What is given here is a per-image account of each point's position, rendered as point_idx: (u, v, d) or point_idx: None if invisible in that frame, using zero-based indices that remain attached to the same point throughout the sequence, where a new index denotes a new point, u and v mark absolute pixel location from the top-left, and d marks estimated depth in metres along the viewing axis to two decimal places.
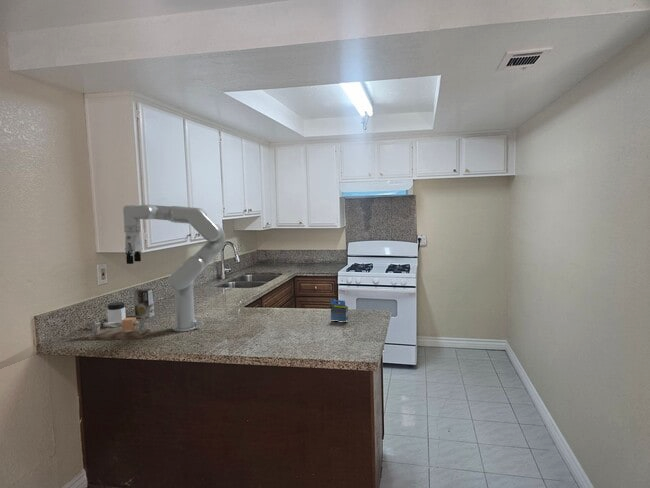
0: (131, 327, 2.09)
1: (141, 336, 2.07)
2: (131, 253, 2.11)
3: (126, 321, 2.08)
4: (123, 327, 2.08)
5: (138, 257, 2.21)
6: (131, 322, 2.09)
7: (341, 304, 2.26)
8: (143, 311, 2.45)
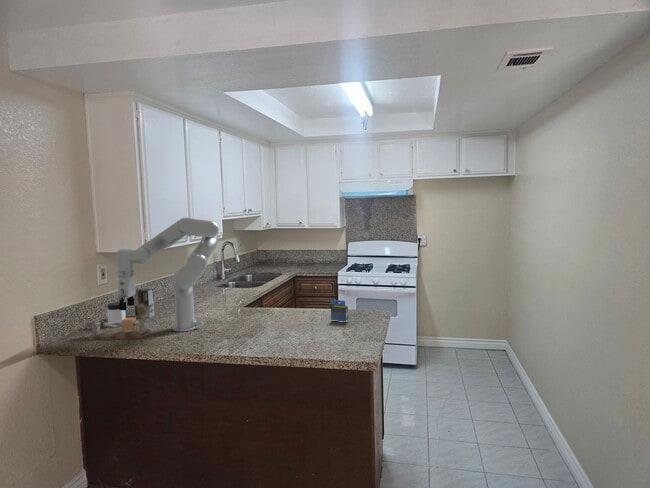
0: (131, 327, 2.09)
1: (141, 336, 2.07)
2: (124, 299, 2.04)
3: (126, 321, 2.08)
4: (123, 327, 2.08)
5: (131, 301, 2.14)
6: (131, 322, 2.09)
7: (341, 304, 2.26)
8: (143, 311, 2.45)
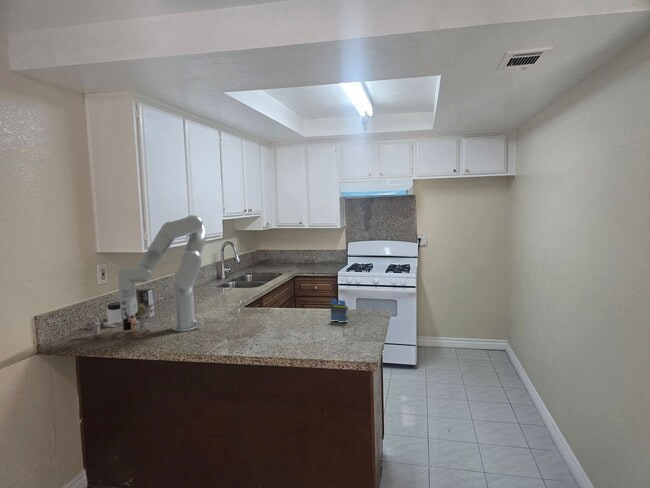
0: (131, 327, 2.09)
1: (141, 336, 2.07)
2: (128, 320, 2.07)
3: None
4: (123, 327, 2.08)
5: None
6: (131, 322, 2.09)
7: (341, 304, 2.26)
8: (143, 311, 2.45)
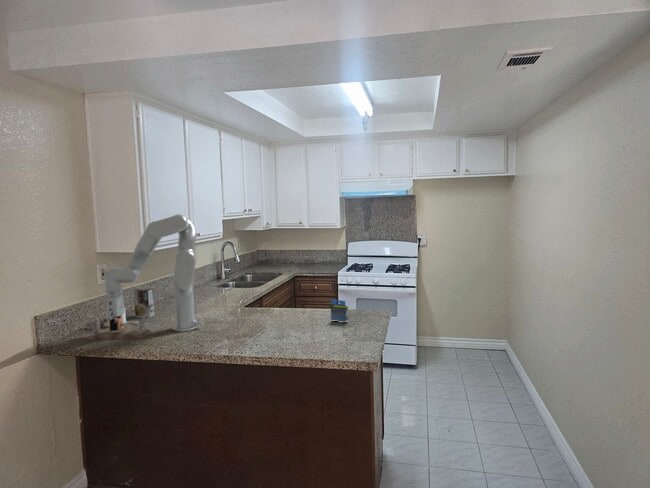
0: (118, 327, 2.08)
1: (141, 336, 2.07)
2: (115, 320, 2.06)
3: None
4: None
5: None
6: (118, 322, 2.08)
7: (341, 304, 2.26)
8: (143, 311, 2.45)
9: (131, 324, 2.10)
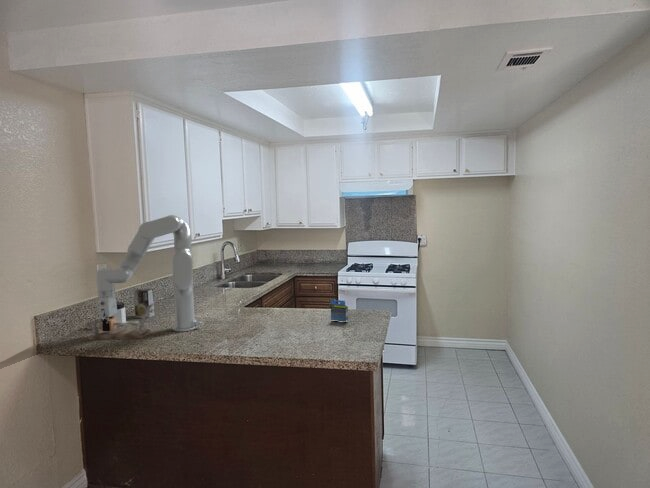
0: (110, 328, 2.08)
1: (141, 336, 2.07)
2: (107, 321, 2.06)
3: None
4: (102, 328, 2.08)
5: None
6: (110, 323, 2.08)
7: (341, 304, 2.26)
8: (143, 311, 2.45)
9: (131, 324, 2.10)
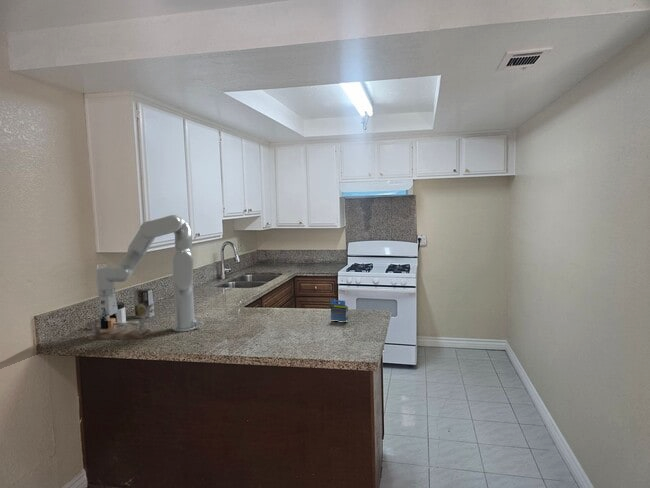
0: (110, 328, 2.08)
1: (141, 336, 2.07)
2: (105, 318, 2.04)
3: None
4: None
5: None
6: (110, 323, 2.08)
7: (341, 304, 2.26)
8: (143, 311, 2.45)
9: (131, 324, 2.10)
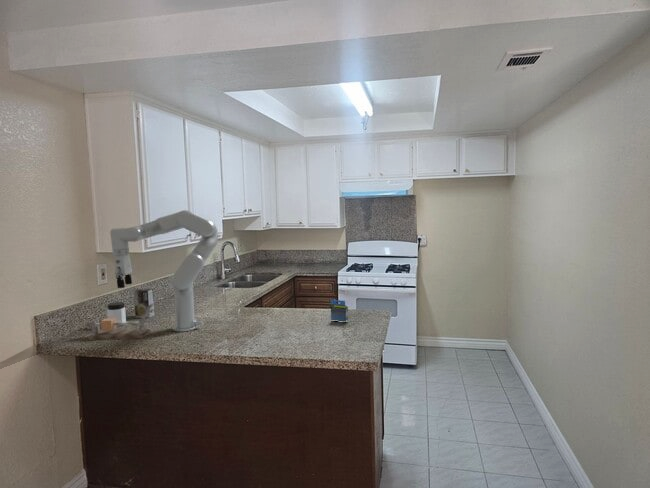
0: (110, 328, 2.08)
1: (141, 336, 2.07)
2: (121, 277, 2.08)
3: (105, 322, 2.08)
4: (102, 328, 2.08)
5: (129, 280, 2.18)
6: (110, 323, 2.08)
7: (341, 304, 2.26)
8: (143, 311, 2.45)
9: (131, 324, 2.10)
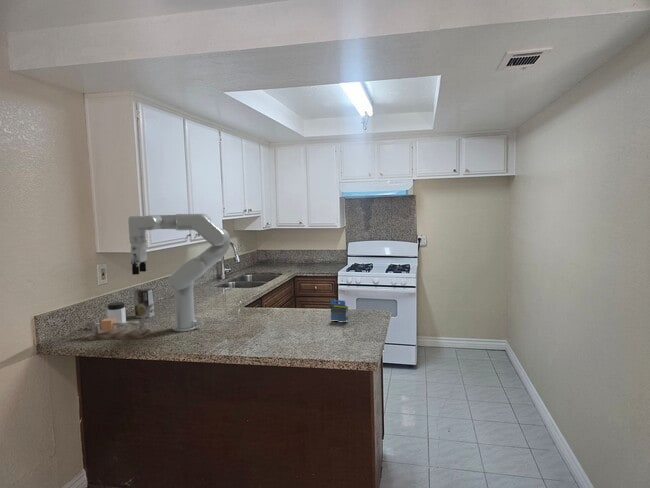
0: (110, 328, 2.08)
1: (141, 336, 2.07)
2: (137, 264, 2.12)
3: (105, 322, 2.08)
4: (102, 328, 2.08)
5: (143, 267, 2.22)
6: (110, 323, 2.08)
7: (341, 304, 2.26)
8: (143, 311, 2.45)
9: (131, 324, 2.10)
